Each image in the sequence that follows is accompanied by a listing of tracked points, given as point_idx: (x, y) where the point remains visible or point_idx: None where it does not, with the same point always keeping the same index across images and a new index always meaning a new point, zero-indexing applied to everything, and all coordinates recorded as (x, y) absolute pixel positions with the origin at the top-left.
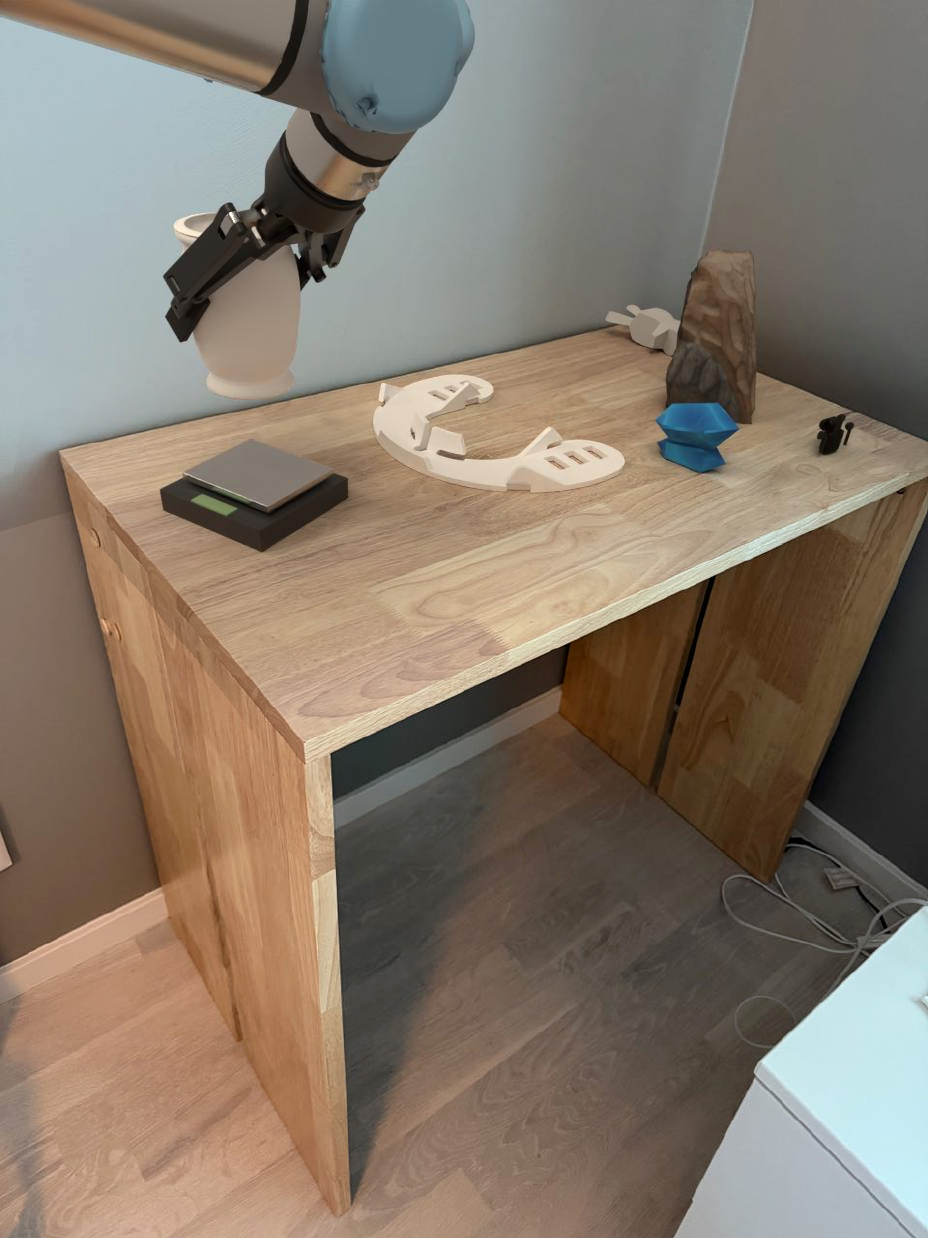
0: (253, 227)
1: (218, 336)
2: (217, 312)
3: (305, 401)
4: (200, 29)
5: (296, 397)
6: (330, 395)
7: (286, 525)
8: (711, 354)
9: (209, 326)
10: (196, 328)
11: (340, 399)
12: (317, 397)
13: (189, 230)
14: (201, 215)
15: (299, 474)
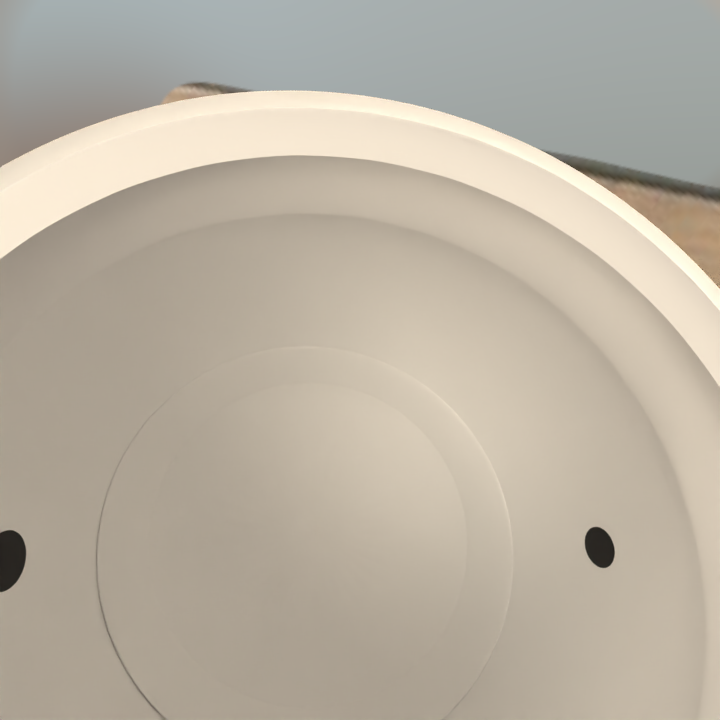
0: (628, 348)
1: (95, 657)
2: (47, 714)
3: (642, 205)
4: None
5: (638, 179)
6: (700, 215)
7: None
8: None
9: (60, 638)
10: (72, 533)
11: (706, 243)
12: (673, 206)
13: None
14: (316, 110)
15: None
